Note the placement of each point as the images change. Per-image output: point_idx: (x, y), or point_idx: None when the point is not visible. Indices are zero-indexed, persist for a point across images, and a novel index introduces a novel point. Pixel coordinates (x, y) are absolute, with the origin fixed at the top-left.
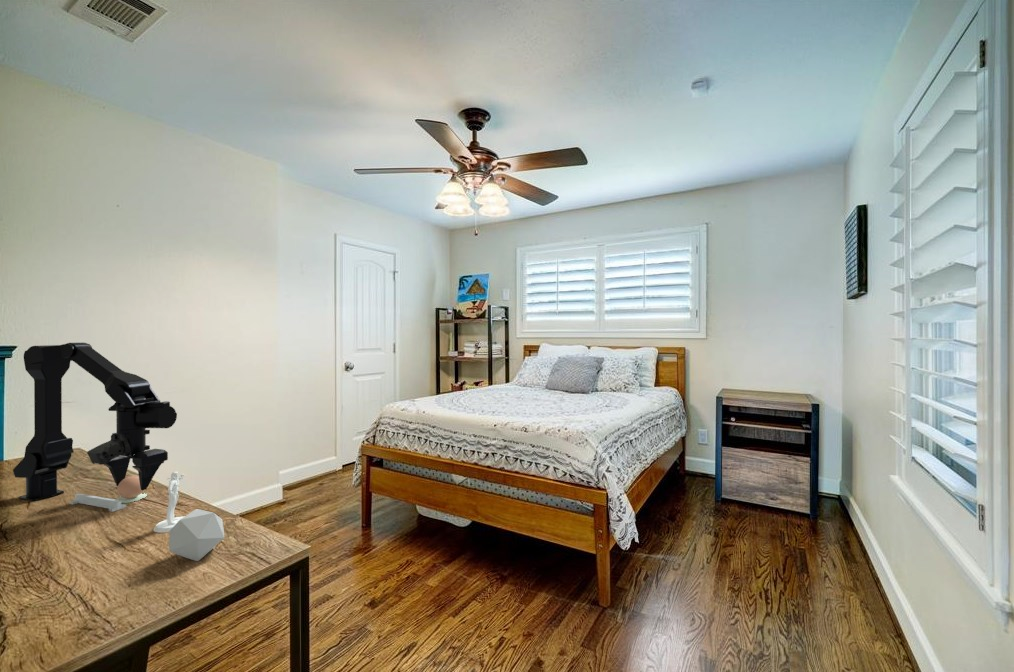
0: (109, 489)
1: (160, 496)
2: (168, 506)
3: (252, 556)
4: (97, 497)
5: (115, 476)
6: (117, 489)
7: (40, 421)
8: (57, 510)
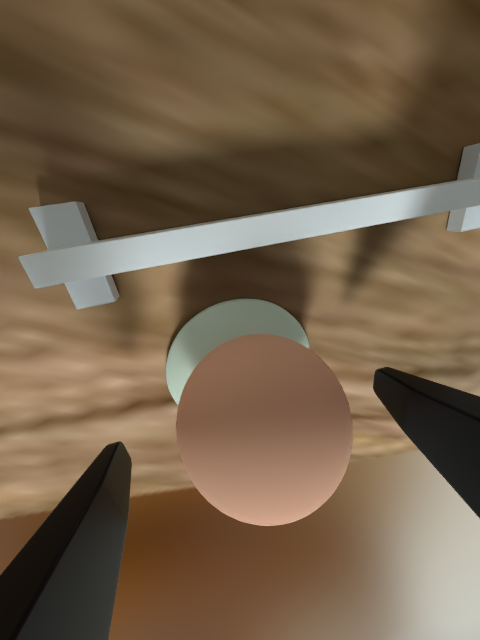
0: (477, 347)
1: (145, 451)
2: None
3: None
4: (330, 218)
5: (466, 417)
6: (285, 346)
7: None
8: (464, 17)
